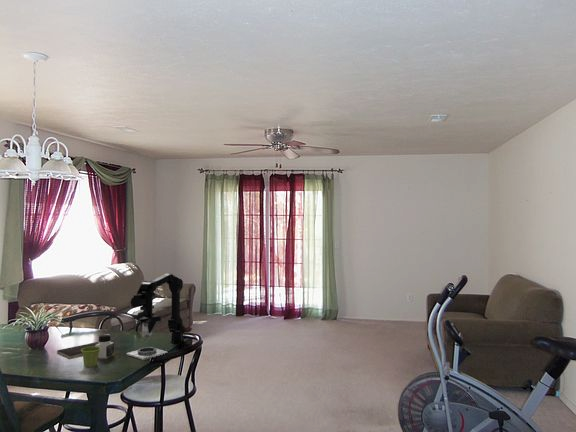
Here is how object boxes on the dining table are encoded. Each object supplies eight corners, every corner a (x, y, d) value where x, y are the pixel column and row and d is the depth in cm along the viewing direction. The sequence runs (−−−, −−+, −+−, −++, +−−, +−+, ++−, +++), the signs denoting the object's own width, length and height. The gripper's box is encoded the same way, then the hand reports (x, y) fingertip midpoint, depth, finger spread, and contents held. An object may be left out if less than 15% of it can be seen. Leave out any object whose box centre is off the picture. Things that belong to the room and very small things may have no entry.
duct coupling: (140, 335, 255) (140, 321, 255) (148, 334, 259) (148, 320, 259) (145, 337, 251) (145, 323, 252) (153, 335, 255) (153, 321, 255)
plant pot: (97, 361, 241) (97, 345, 241) (102, 366, 233) (102, 349, 234) (78, 365, 235) (78, 348, 235) (83, 369, 228) (83, 352, 228)
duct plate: (150, 348, 266) (150, 344, 266) (167, 353, 256) (167, 349, 256) (126, 354, 253) (126, 350, 253) (143, 360, 243) (143, 355, 243)
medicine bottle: (106, 358, 246) (106, 336, 246) (94, 358, 247) (95, 336, 247) (114, 355, 253) (114, 333, 253) (102, 354, 254) (102, 333, 254)
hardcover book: (109, 350, 263) (109, 346, 263) (69, 359, 246) (69, 355, 246) (96, 345, 274) (96, 341, 274) (57, 354, 256) (57, 349, 257)
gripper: (125, 304, 255) (125, 332, 255) (144, 308, 243) (143, 337, 243) (143, 302, 264) (142, 328, 263) (161, 305, 252) (161, 333, 251)
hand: (147, 332), depth 255 cm, fingers closed on duct coupling, 5 cm apart
